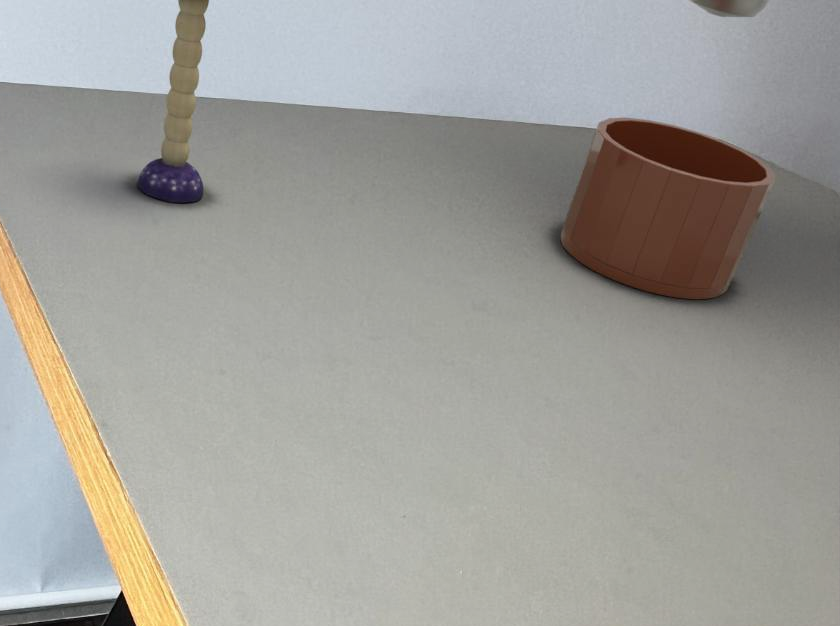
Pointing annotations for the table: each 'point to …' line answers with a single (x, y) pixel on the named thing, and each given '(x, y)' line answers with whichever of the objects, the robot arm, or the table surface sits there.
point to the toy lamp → (179, 113)
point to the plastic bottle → (732, 7)
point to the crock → (665, 208)
